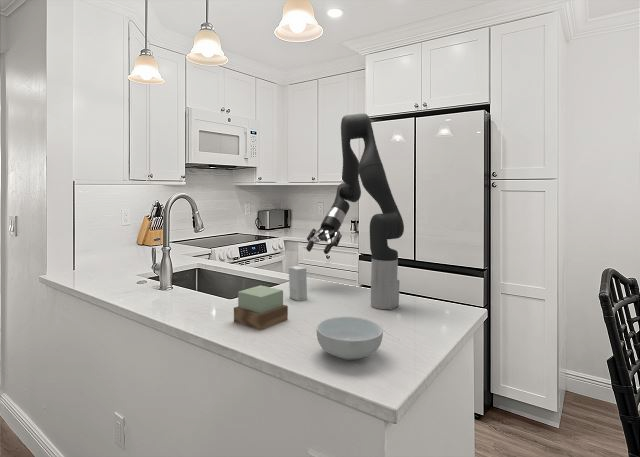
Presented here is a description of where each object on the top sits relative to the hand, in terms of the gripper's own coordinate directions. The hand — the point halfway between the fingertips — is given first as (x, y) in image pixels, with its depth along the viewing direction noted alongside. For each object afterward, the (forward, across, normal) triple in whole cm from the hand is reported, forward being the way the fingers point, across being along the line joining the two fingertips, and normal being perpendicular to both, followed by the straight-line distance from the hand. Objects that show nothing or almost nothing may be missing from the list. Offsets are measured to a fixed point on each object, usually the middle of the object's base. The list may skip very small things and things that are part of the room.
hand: (316, 251), depth 160 cm
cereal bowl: (+41, +42, -18) cm, 62 cm away
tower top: (+35, +6, -18) cm, 40 cm away
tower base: (+38, +6, -15) cm, 42 cm away
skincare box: (+20, 0, +4) cm, 20 cm away
